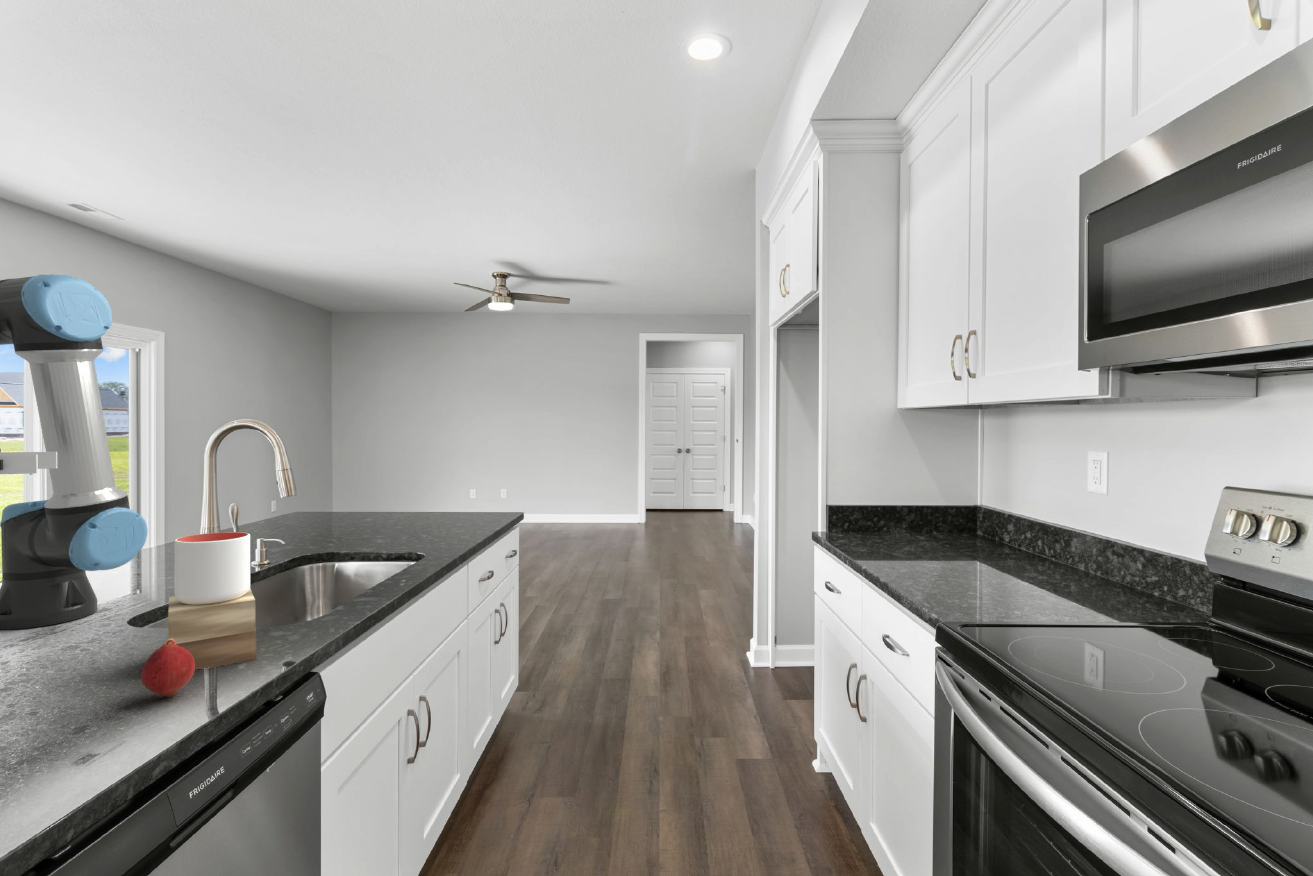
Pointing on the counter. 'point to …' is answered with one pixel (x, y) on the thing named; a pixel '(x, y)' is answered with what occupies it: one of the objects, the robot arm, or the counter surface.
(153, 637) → the counter surface
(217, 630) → the block top
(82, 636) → the counter surface
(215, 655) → the block bottom
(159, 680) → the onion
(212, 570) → the cup
